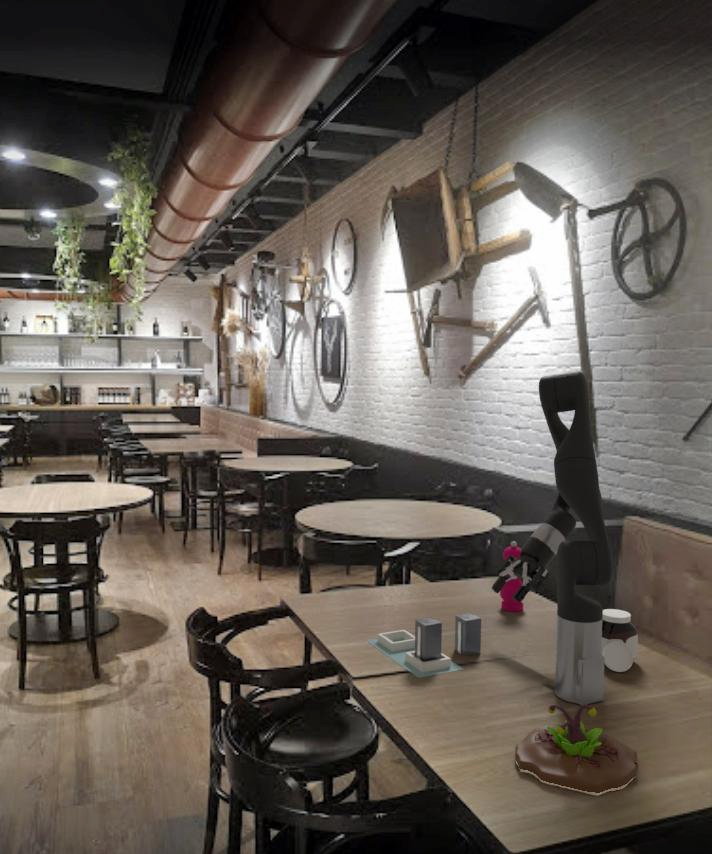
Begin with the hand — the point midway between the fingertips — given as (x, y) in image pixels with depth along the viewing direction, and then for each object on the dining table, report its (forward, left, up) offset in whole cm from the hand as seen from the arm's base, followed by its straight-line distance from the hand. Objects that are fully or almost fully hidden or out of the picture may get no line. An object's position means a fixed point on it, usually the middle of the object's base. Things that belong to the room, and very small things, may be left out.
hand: (504, 595), depth 186 cm
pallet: (+4, +24, -14) cm, 28 cm away
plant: (-50, +22, -14) cm, 56 cm away
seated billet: (-3, +24, -12) cm, 27 cm away
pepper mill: (+27, -23, -14) cm, 38 cm away
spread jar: (-18, -19, -14) cm, 30 cm away
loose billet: (0, +11, -14) cm, 18 cm away
